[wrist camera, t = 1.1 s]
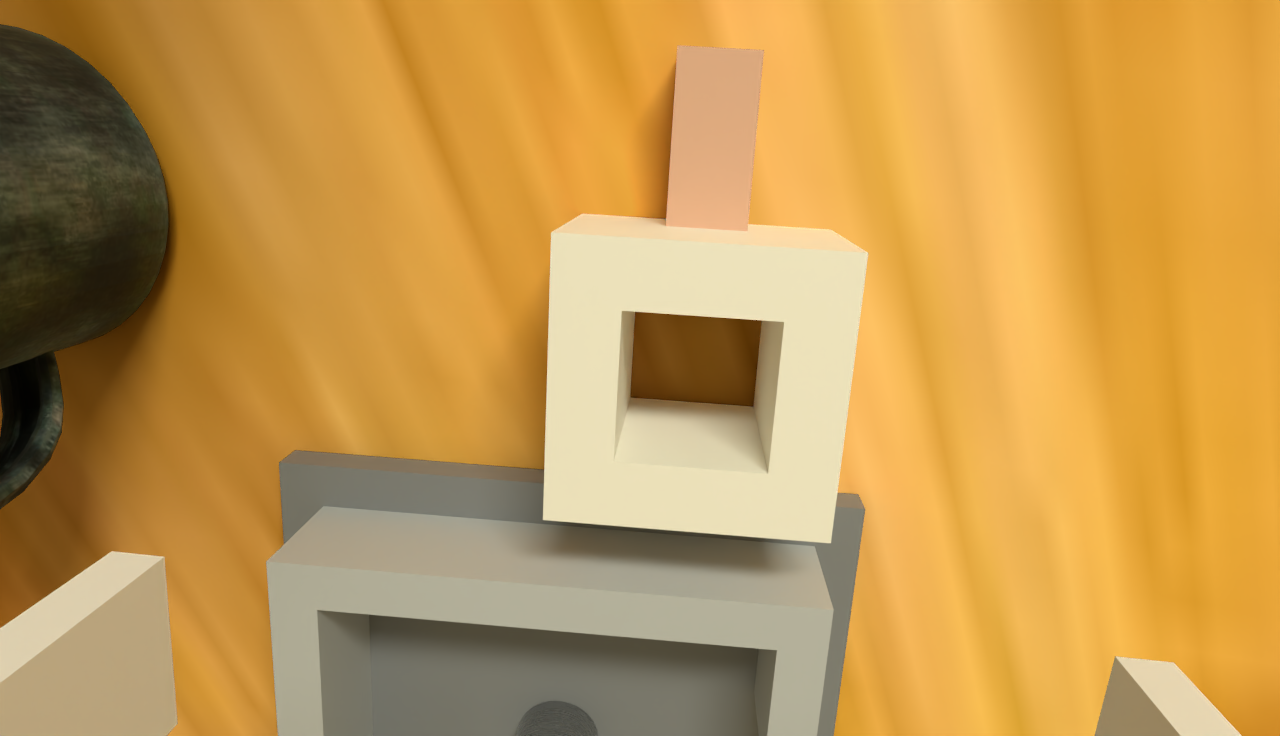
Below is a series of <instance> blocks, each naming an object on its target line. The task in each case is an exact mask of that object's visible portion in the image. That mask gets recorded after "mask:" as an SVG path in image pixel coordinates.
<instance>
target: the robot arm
mask: <svg viewBox="0 0 1280 736" xmlns="http://www.w3.org/2000/svg"><path fill="white" fill-rule="evenodd" d="M177 724H178V722H177V710H176V697H175V684H174V672H173V659H172V646H171V634H170V621H169V608H168V596H167V583H166V570H165V558H164V557H162V556H152V555H143V554H133V553H124V552H114V551H111V552H110V553H109V554H107V555H106V556H104V557H103V558H101V559H100V560H98V561H97V562H95V563H94V564H93V565H91V566H90V567H88V568H87V569H85V570H84V571H82V572H81V573H80V574H78V575H77V576H75V577H74V578H72V579H71V580H69V581H68V582H66V583H65V584H64V585H62V586H61V587H59V588H58V589H56V590H55V591H53V592H52V593H51V594H49V595H48V596H46V597H45V598H43V599H42V600H40V601H39V602H37V603H36V604H35V605H33V606H32V607H30V608H29V609H27V610H26V611H24V612H23V613H22V614H20V615H19V616H17V617H16V618H14V619H13V620H11V621H10V622H8V623H7V624H6V625H4V626H3V627H1V628H0V736H167V735H168V734H169V733H170V731H171V730H172V729H173V728H174V727H175V726H176V725H177ZM1095 736H1241V735H1240V734H1239V732H1238V731H1237V730H1236V729H1235V728H1234V727H1233V726H1232V725H1231V724H1230V723H1229V722H1228V721H1227V720H1226V718H1225V717H1224V716H1223V715H1222V714H1221V713H1220V712H1219V711H1218V710H1217V709H1216V708H1215V707H1214V706H1213V704H1212V703H1211V702H1210V701H1209V700H1208V699H1207V698H1206V697H1205V696H1204V695H1203V694H1202V693H1201V692H1200V690H1199V689H1198V688H1197V687H1196V686H1195V685H1194V684H1193V683H1192V682H1191V681H1190V680H1189V679H1188V677H1187V676H1186V675H1185V674H1184V673H1183V672H1182V671H1181V670H1180V669H1179V668H1178V667H1177V666H1176V665H1175V663H1173V662H1163V661H1153V660H1144V659H1134V658H1125V657H1115V659H1114V663H1113V667H1112V671H1111V675H1110V679H1109V682H1108V686H1107V690H1106V694H1105V698H1104V702H1103V705H1102V709H1101V713H1100V717H1099V721H1098V725H1097V729H1096V732H1095Z"/></svg>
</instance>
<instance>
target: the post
mask: <svg viewBox="0 0 1280 736" xmlns="http://www.w3.org/2000/svg"><path fill="white" fill-rule="evenodd" d="M516 736H598V732H597V728H596V725H595V723H594V721H593V720H592V718H591V717H590V716H589V715H588V714H587V713H586V712H585V711H584V710H582V709H581V708H579V707H578V706H576V705H573V704H571V703H568V702H563V701H547V702H542V703H539V704H537V705H535V706H533V707H532V708H530V709H529V710H528V711H527V712H526V713H525V714H524V715H523V717H522V718H521V721H520V723H519V726H518V729H517V733H516Z"/></svg>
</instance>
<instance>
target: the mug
mask: <svg viewBox="0 0 1280 736" xmlns="http://www.w3.org/2000/svg"><path fill="white" fill-rule="evenodd" d="M168 226H169V219H168V199H167V193H166V188H165V182H164V177H163V174H162V171H161V168H160V165H159V161H158V158H157V155H156V153H155V151H154V149H153V147H152V144H151V142H150V140H149V138H148V136H147V134H146V132H145V130H144V129H143V127H142V125H141V124H140V122H139V121H138V119H137V118H136V116H135V114H134V113H133V111H132V110H131V108H130V107H129V105H128V104H127V102H126V101H125V100H124V99H123V98H122V96H121V95H120V94H119V93H118V92H117V90H116V89H115V88H114V87H113V86H112V84H111V83H110V82H109V81H108V80H107V79H106V78H105V77H103V76H102V75H101V74H100V73H99V72H98V71H97V70H96V69H95V68H94V67H93V66H92V65H90V64H89V63H88V62H87V61H85V60H84V59H82V58H81V57H79V56H78V55H77V54H75V53H74V52H72V51H71V50H69V49H68V48H66V47H64V46H63V45H61V44H59V43H57V42H55V41H53V40H51V39H49V38H47V37H45V36H43V35H40V34H37V33H33V32H30V31H27V30H24V29H21V28H18V27H12V26H7V25H1V24H0V394H1V403H2V412H3V418H2V427H1V436H0V509H1V508H2V507H4V506H5V505H6V504H8V503H9V502H10V501H12V500H13V499H14V498H16V497H17V496H18V495H19V494H21V493H22V492H23V491H24V490H25V489H26V488H27V487H28V485H29V484H30V483H31V482H32V481H33V479H34V478H35V477H36V476H37V475H38V473H39V472H40V471H41V470H42V469H43V467H44V466H45V465H46V464H47V463H48V461H49V460H50V458H51V456H52V454H53V451H54V449H55V447H56V444H57V442H58V440H59V438H60V435H61V433H62V422H63V409H64V403H63V397H62V390H61V383H60V376H59V371H58V367H57V363H56V358H55V354H54V352H55V351H58V350H61V349H64V348H67V347H70V346H73V345H77V344H80V343H83V342H86V341H88V340H91V339H94V338H96V337H99V336H102V335H104V334H106V333H107V332H109V331H111V330H112V329H114V328H116V327H117V326H119V325H121V324H122V323H123V322H124V321H125V320H126V319H127V318H129V317H130V316H131V315H132V314H133V313H134V312H135V311H136V310H137V309H138V308H139V306H140V305H141V304H142V302H143V301H144V300H145V298H146V297H147V296H148V294H149V293H150V291H151V288H152V286H153V284H154V282H155V280H156V278H157V276H158V274H159V271H160V268H161V264H162V261H163V257H164V254H165V250H166V243H167V234H168Z"/></svg>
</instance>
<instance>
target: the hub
mask: <svg viewBox="0 0 1280 736" xmlns="http://www.w3.org/2000/svg"><path fill="white" fill-rule="evenodd" d="M763 54H764V50H753V49H734V48H716V47H697V46H677V62H676V77H675V92H674V108H673V123H672V139H671V154H670V170H669V185H668V200H667V216H666V219H658V218H643V217H627V216H611V215H595V214H581V215H579V216H578V217H576V218H574V219H573V220H571V221H569V222H568V223H566V224H564V225H563V226H561V227H559V228H558V229H556V230H554V231H553V232H551V257H550V292H549V326H548V361H547V395H546V429H545V464H544V498H543V520H549V521H562V522H574V523H586V524H598V525H611V526H623V527H635V528H648V529H660V530H672V531H684V532H697V533H709V534H721V535H733V536H746V537H758V538H770V539H782V540H795V541H807V542H819V543H831V538H832V530H833V522H834V515H835V507H836V499H837V492H838V484H839V476H840V468H841V461H842V453H843V445H844V437H845V430H846V422H847V414H848V406H849V399H850V391H851V383H852V376H853V368H854V360H855V352H856V345H857V337H858V329H859V321H860V314H861V306H862V298H863V291H864V283H865V275H866V267H867V260H868V252H866V251H864V250H863V249H861V248H860V247H858V246H856V245H855V244H853V243H852V242H850V241H848V240H847V239H845V238H844V237H842V236H840V235H839V234H837V233H836V232H834V231H832V230H831V229H815V228H799V227H784V226H768V225H752V224H748V220H749V209H750V198H751V187H752V176H753V164H754V153H755V142H756V131H757V120H758V109H759V98H760V87H761V76H762V65H763ZM635 312H647V313H662V314H676V315H691V316H705V317H720V318H734V319H749V320H762V323H761V334H760V344H759V354H758V364H757V375H756V385H755V395H754V405H753V407H752V406H739V405H725V404H712V403H698V402H685V401H671V400H658V399H644V398H631V397H630V395H631V378H632V360H633V342H634V325H635Z"/></svg>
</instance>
